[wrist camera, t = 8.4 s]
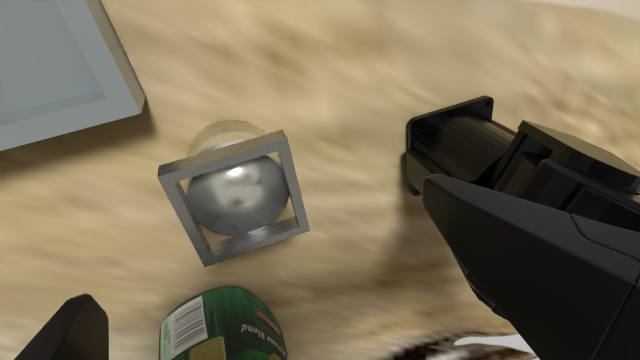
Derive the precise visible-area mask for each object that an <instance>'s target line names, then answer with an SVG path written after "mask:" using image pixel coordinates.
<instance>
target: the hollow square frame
mask: <svg viewBox="0 0 640 360" xmlns="http://www.w3.org/2000/svg"><path fill="white" fill-rule="evenodd" d="M276 151H278V155H279V158H280V160H279V158H278V156H277V154H276ZM158 179H159V181H160V183H161V185H162V187H163V188H164V190H165V192H166V194H167V196H168V198H169V200H170V202H171V204H172V206H173V208H174V209H175V211H176V213H177V215H178V217H179V219H180V221H181V223H182V225H183V227H184V229H185V230H186V232H187V234H188V236H189V238H190V240H191V242H192V244H193V246H194V248H195V249H196V251H197V253H198V255H199V257H200V259H201V261H202V263H203V265H204V267H207V266H210V265H212V264H215V263H218V262H221V261H224V260H227V259H230V258H233V257H236V256H238V255H241V254H244V253H247V252H250V251H253V250H256V249H259V248H261V247H264V246H267V245H270V244H273V243H276V242H279V241H282V240H284V239H287V238H290V237H293V236H296V235H299V234H302V233H305V232H307V231H310V229H309V225H308V221H307V217H306V213H305V209H304V205H303V201H302V197H301V192H300V188H299V184H298V180H297V176H296V172H295V168H294V164H293V160H292V156H291V152H290V148H289V144H288V139H287V137H286V135H285V133H284V132H283V130H280V131H276V132H273V133H269V134H265V133H264V132H263V131H262V130H261V129H259V128H258V127H256V126H255V125H253V124H250V123H248V122H244V121H239V120H226V121H220V122H217V123H214V124H212V125H210V126H208V127H206V128H205V129H203V130H202V131H201V132H199V133H198V134H197V135H196V137H195V138H194V139H193V141H192V142H191V144H190V147H189V149H188V153H187V158H184V159H181V160H177V161H174V162H171V163H167V164H164V165H160V166H159V169H158ZM184 179H187V197H186V195H185V193H184V191H183V189H182V187H181V184H180V182H179V181H181V180H184ZM289 196H290V199H291V203H292V207H293V210H294V214H295V216H294V217H291V218H288V219H285V220H282V221H279V222H276V223H274V224H271V223H272V222H273V221H274V220H276V219H277V217H278V216H279V215H280V214H281V213H282V211H283V210H284V208H285V206H286V204H287V202H288V198H289ZM200 224H201V225H202V226H203V227H205V228H206V229H208V230H210V231H212V232H215V233H218V234H222V235H232V236H235V237H232V238H229V239H226V240H223V241H220V242H217V243H214V244H211V245H210V244H209V242H208V240H207V238H206V236H205V234H204V232H203V230H202V228H201V226H200ZM269 224H271V225H269ZM237 235H238V236H237Z"/></svg>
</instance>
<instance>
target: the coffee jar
mask: <svg viewBox="0 0 640 360" xmlns="http://www.w3.org/2000/svg"><path fill="white" fill-rule="evenodd" d="M159 360H289V359H288V355H287V351H286V347H285V343H284V339H283V335H282V331H281V327H280V325H279V323H278V321H277V320H276V318H275V317H274V315H273V314H272V312H271V311H270V310H269V309H268V308H267V307H266V306H265V305H264V304H263V303H262V302H261V301H260V300H259V299H258V298H257V297H255V296H254V295H253V294H251V293H250V292H249V291H247V290H245V289H243V288H241V287H238V286H228V287H220V288H215V289H212V290H208V291H205V292H202V293H200V294H198V295H196V296H194V297H192V298H190V299H188V300H187V301H185V302H184V303H182V304H181V305H179V306H178V307H177V308H176V309H175V310H173V311H172V312H171V313H170V314H169V315H168V316H167V317H166V318H165V320H164V321H163V323H162V325H161V327H160V338H159Z"/></svg>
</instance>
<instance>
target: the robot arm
mask: <svg viewBox="0 0 640 360" xmlns="http://www.w3.org/2000/svg"><path fill="white" fill-rule="evenodd" d="M485 103H486V104H485ZM493 104H494V100H493V98H491V97H489V96H482V97H479V98H475V99H472V100H469V101H466V102H462V103H459V104H456V105H453V106H449V107H446V108H443V109H440V110H436V111H433V112H430V113H427V114H423V115H420V116H417V117H414V118H412V119H411V120H410V121H409V122H408V149H407V152H406V163H407V180H408V181H409V192H410V193H411V194H412V195H413V196H418V195H421V194H422V201H423V205H424V208H425V209H426V211H427V212H428V214H429V216H430V217H431V219H432V220H433V222H434V223H435V225H436V227H437V228H438V230H439V231H440V233H441V234H442V236H443V238H444V239H445V241H446V242H447V244H448V245H449V247H450V248H451V250H452V252H453V254H454V256H455V258H456V260H457V262H458V264H459V266H460V268H461V270H462V272H463V274H464V276H465V278H466V280H467V282H468V284H469V286H470V287H471V289H472V290H473V292H474V293H475V295H476V296H477V298H478V299H479V300H481V301H482V302H483V303H485V304H486V305H487V306H488V307H489V308H491V310H492V311H493V312H494V313H495V314H497V315H499V316H501V317H502V318H504V319H506V320H508V321H509V322H510V323H511V324H512V325H513V327H514V328H515V329H516V330H517V332H518V333H519V334H520V335H521V337H522V338H523V339H524V340H525V341H526V342H527V344H528V345H529V346H530V348H531V349H532V350H533V351H534V353H535V354H536V355H537V356H538V358H539V359H540V360H640V171H638V170H637V169H635V168H634V167H632V166H631V165H629V164H628V163H626V162H625V161H623V160H622V159H620V158H619V157H617V156H616V155H614V154H613V153H611V152H609V151H606V150H604V149H602V148H600V147H597V146H595V145H593V144H590V143H588V142H586V141H583V140H581V139H579V138H577V137H574V136H572V135H569V134H566V133H563V132H559V131H556V130H553V129H550V128H547V127H544V126H541V125H538V124H534V123H531V122H528V121H525V120H522V122H521V124H520V125H519V127H518V129H519V130H518V132H515V131H513V130H511V129H509V128H507V127H505V126H503V125H501V124H500V123H498V122H496V121H494V120H492V111H493ZM416 123H417V126H416V127H414V125H415V124H416ZM415 189H416V190H415ZM14 360H109V324H108V317H107V314H106V313H105V311H104V310H103V309H102V308H101V307H100V305H99V304H98V303H97V302H96V301H95V300H94V298H93V297H92V296H91V295H89V294H82V295H79V296H76V297H73V298H70V299H68V300H67V301H66V302H65V303H64V304H63V305H62V306H61V307H60V309H59V310H58V311H57V312H56V313H55V314H54V315H53V316H52V318H51V319H50V320H49V321H48V322H47V323H46V324H45V325H44V327H43V328H42V329H41V330H40V331H39V332H38V333H37V334H36V336H35V337H34V338H33V339H32V340H31V341H30V342H29V343H28V345H27V346H26V347H25V348H24V349H23V350H22V351H21V352H20V354H19V355H18V356H17V357H16V358H15V359H14Z"/></svg>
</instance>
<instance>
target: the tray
mask: <svg viewBox="0 0 640 360" xmlns="http://www.w3.org/2000/svg"><path fill="white" fill-rule="evenodd" d="M145 98H146V95H145V93H144V91H143V89H142V87H141V85H140V82H139V80H138V78H137V76H136V74H135V72H134V70H133V68H132V66H131V63H130V61H129V59H128V57H127V55H126V53H125V51H124V49H123V46H122V44H121V42H120V40H119V38H118V36H117V34H116V32H115V29H114V27H113V25H112V23H111V21H110V19H109V17H108V15H107V12H106V10H105V8H104V6H103V4H102V2H101V0H0V151H2V150H6V149H10V148H14V147H17V146H21V145H25V144H29V143H32V142H36V141H40V140H44V139H47V138H51V137H55V136H59V135H62V134H66V133H70V132H74V131H77V130H81V129H85V128H88V127H92V126H96V125H100V124H103V123H107V122H111V121H115V120H118V119H122V118H126V117H130V116H133V115H137V114H141V111H142V108H143V104H144V101H145Z"/></svg>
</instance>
